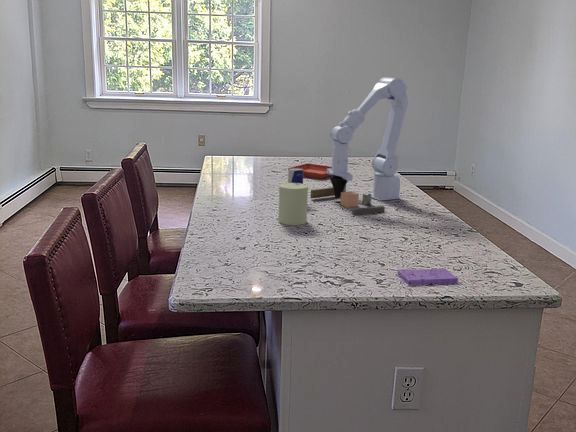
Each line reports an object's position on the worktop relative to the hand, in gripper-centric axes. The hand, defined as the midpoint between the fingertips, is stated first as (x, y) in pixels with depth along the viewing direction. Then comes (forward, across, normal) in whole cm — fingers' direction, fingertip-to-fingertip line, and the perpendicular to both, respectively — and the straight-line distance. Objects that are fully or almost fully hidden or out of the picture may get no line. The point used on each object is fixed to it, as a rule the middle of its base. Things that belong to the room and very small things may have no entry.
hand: (338, 196), depth 221 cm
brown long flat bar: (+1, -5, -2) cm, 6 cm away
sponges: (+2, +78, -23) cm, 81 cm away
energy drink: (+2, -4, -16) cm, 16 cm away
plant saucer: (+2, -48, +17) cm, 50 cm away
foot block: (+2, +8, 0) cm, 8 cm away
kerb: (+1, +20, 0) cm, 20 cm away
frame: (+1, +2, +6) cm, 7 cm away
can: (+2, +20, -29) cm, 35 cm away
